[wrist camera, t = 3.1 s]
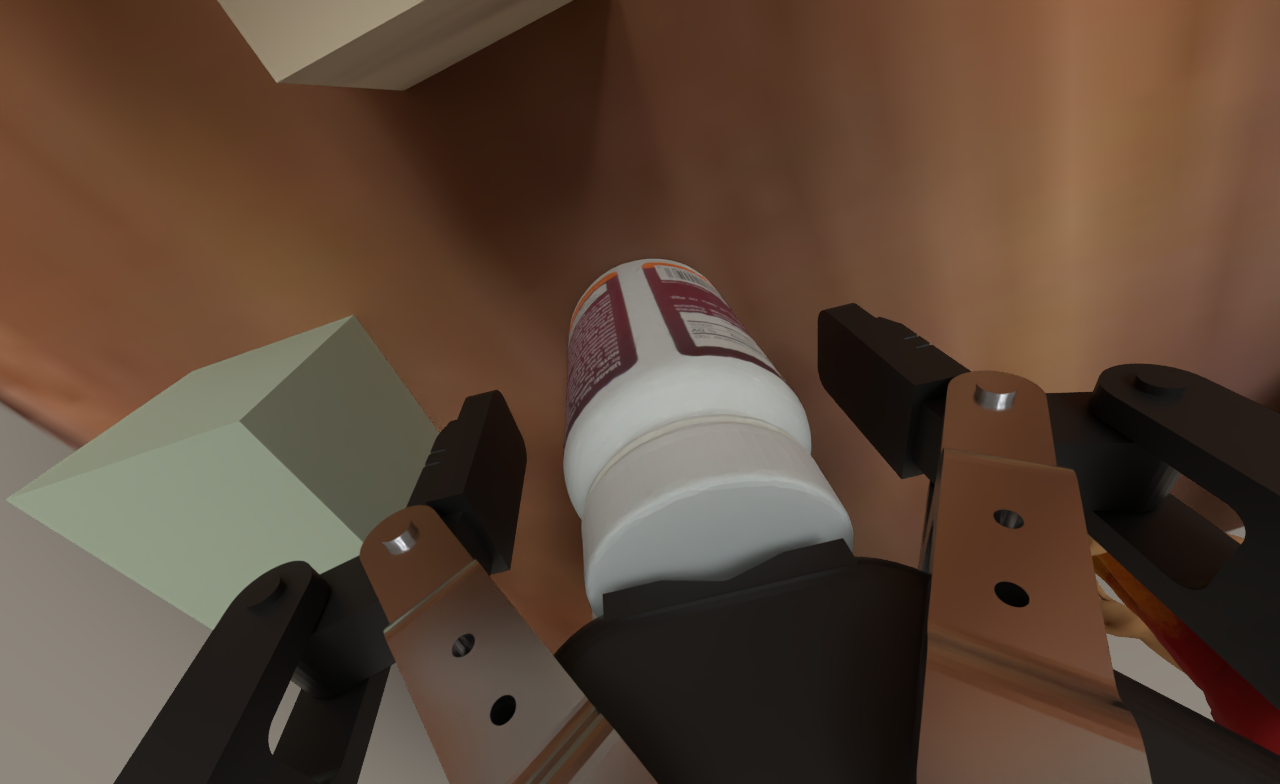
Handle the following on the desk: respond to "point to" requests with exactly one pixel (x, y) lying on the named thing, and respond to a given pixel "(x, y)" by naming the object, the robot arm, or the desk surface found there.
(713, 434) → the pill bottle
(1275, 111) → the desk surface
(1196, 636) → the action figure
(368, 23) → the birch block
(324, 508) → the sage block
